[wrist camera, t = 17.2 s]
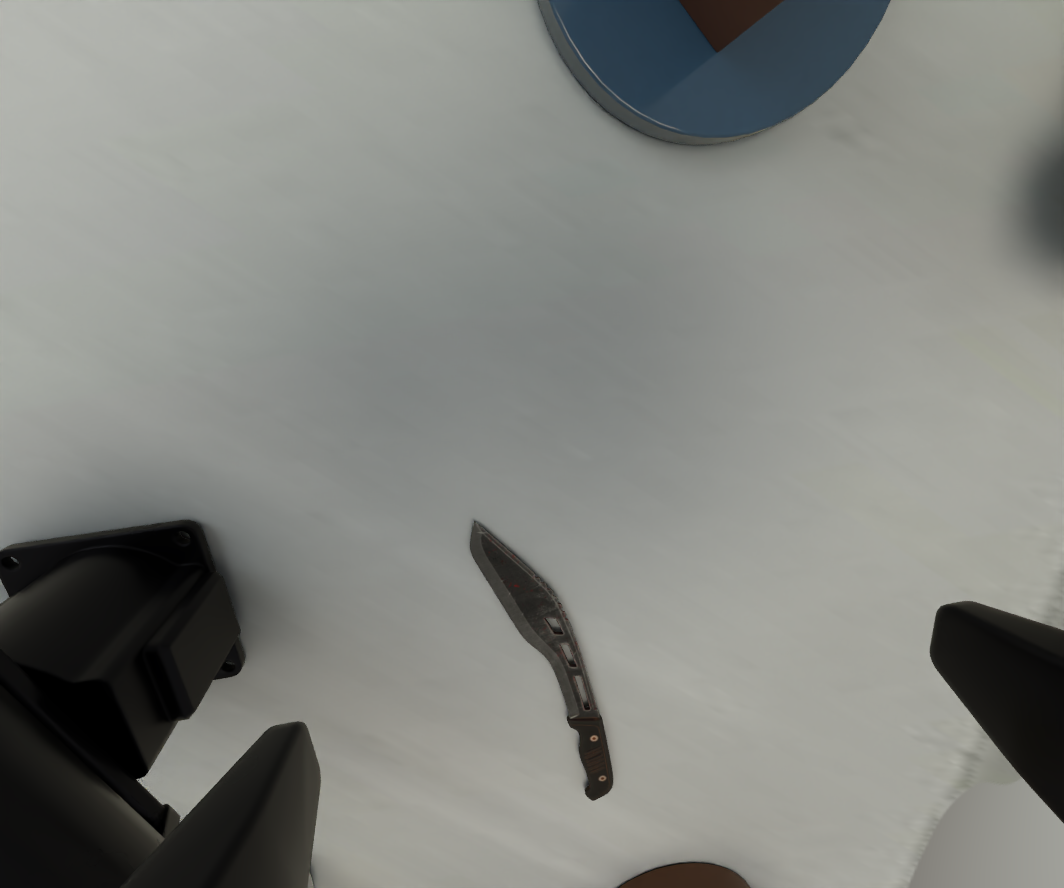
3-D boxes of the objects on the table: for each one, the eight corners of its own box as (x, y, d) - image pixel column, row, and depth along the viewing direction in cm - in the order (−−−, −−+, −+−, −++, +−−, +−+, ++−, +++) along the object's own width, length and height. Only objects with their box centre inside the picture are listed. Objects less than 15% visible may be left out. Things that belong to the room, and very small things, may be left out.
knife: (461, 527, 20) (538, 504, 20) (461, 521, 21) (537, 499, 21) (563, 812, 25) (624, 794, 26) (561, 803, 26) (621, 785, 26)
